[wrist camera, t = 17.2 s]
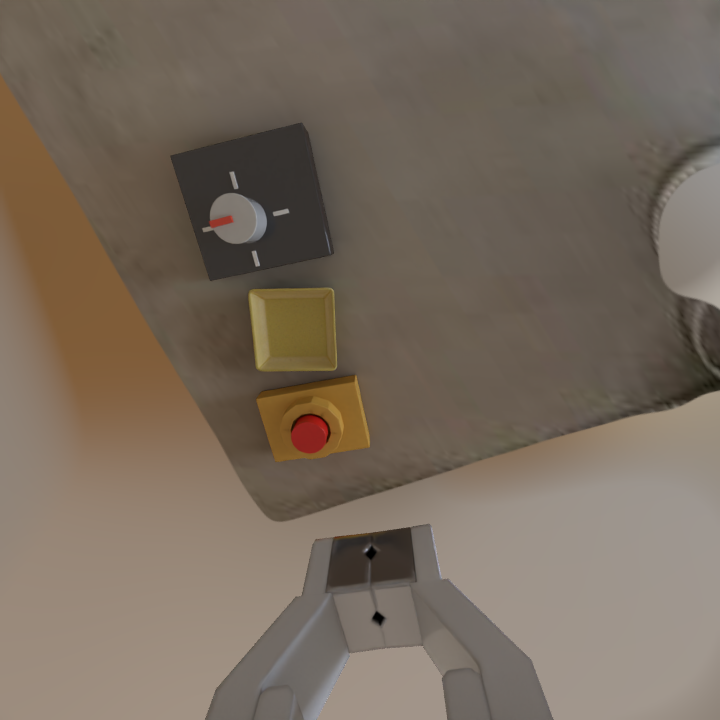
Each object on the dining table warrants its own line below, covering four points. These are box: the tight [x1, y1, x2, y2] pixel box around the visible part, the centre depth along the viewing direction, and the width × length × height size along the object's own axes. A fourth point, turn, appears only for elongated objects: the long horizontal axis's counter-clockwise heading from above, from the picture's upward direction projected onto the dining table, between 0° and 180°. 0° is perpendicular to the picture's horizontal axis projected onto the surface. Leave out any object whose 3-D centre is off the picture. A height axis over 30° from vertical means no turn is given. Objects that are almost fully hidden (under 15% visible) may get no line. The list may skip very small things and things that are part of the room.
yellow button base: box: [256, 375, 370, 462], centre depth 41 cm, size 11×8×4 cm
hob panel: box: [171, 123, 334, 281], centre depth 35 cm, size 12×11×3 cm
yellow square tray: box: [248, 288, 337, 371], centre depth 39 cm, size 9×9×2 cm
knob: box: [209, 193, 267, 244], centre depth 32 cm, size 4×4×3 cm
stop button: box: [291, 415, 328, 454], centre depth 39 cm, size 4×4×2 cm
